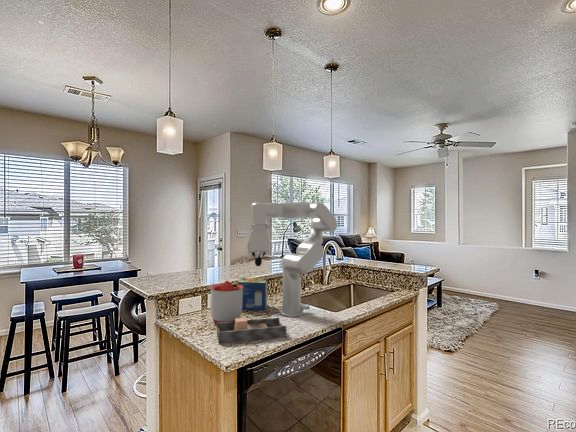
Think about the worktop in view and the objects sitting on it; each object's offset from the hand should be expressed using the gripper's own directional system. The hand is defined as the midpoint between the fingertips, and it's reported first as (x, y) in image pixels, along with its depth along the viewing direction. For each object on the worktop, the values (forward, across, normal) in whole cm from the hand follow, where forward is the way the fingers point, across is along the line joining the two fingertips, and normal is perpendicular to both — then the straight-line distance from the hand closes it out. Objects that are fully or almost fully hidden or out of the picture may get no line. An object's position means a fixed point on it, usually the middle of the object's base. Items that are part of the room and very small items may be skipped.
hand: (258, 265), depth 150 cm
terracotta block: (+24, +10, +16) cm, 31 cm away
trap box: (+27, +6, +16) cm, 32 cm away
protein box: (+27, -2, -23) cm, 36 cm away
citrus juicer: (+27, +14, -4) cm, 31 cm away
